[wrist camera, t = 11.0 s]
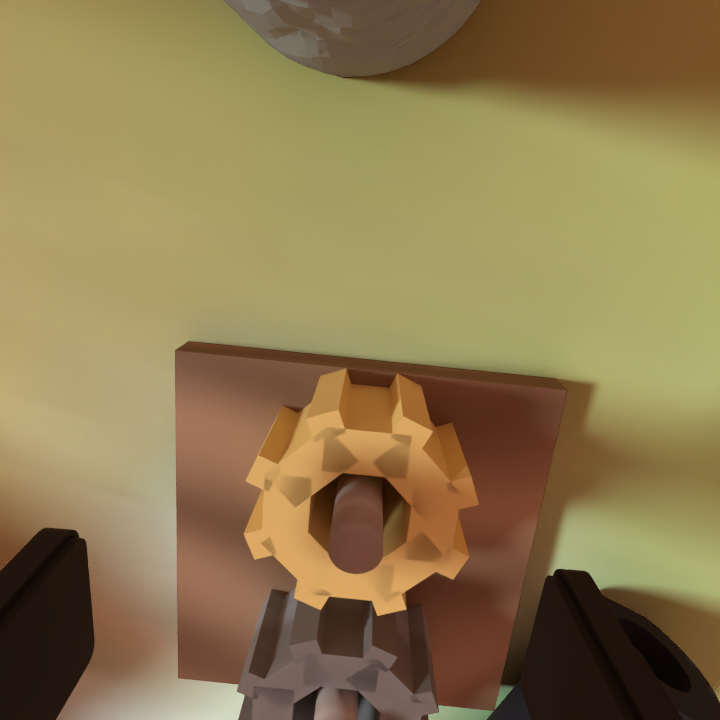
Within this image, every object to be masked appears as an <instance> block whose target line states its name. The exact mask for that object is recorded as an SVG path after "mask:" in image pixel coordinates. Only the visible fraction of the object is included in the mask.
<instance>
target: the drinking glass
mask: <svg viewBox="0 0 720 720" xmlns="http://www.w3.org/2000/svg"><path fill="white" fill-rule="evenodd" d="M224 1H225V2H226V3H227V4H228V5H229V6H230V7H231V8H232V9H234V10H235V11H236V12H237V13H238V14H239V15H240V16H241V18H242V19H243V20H244V21H245V22H246V23H247V24H248V25H249V26H250V27H251V28H253V29H254V30H255V31H256V32H257V33H258V34H259V35H260V36H261V37H262V38H263V39H264V40H265V41H266V42H267V43H268V44H269V45H270V46H272V47H273V48H275V49H276V50H277V51H279V52H280V53H282V54H283V55H285V56H286V57H287V58H289V59H291V60H293V61H295V62H297V63H299V64H302V65H304V66H306V67H309V68H312V69H315V70H318V71H321V72H324V73H329V74H334V75H339V76H340V77H341V78H344V77H353V76H372V75H377V74H382V73H387V72H391V71H393V70H396V69H399V68H402V67H404V66H407V65H410V64H412V63H414V62H416V61H418V60H420V59H421V58H423V57H425V56H427V55H428V54H430V53H432V52H433V51H434V50H436V49H437V48H438V47H440V46H441V45H442V44H443V43H445V42H446V41H447V40H448V39H449V38H451V37H452V36H453V35H454V34H455V33H456V32H457V31H458V30H459V29H460V28H461V27H462V26H463V25H464V23H465V22H466V21H467V20H468V18H469V17H470V16H471V15H472V13H473V12H474V10H475V9H476V8H477V6H478V5H479V3H480V2H481V0H224Z"/></svg>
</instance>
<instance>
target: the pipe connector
mask: <svg viewBox="0 0 720 720" xmlns="http://www.w3.org/2000/svg"><path fill="white" fill-rule="evenodd" d="M603 597H604V596H603ZM604 598H605V600H606V602H607V603H608V605H609V607H610V608H611V610H612V611H613V613H614V615H615V616H616V618H617V620H618V621H619V623H620V624H621V626H622V628H623V629H624V631H625V633H626V634H627V636H628V638H629V639H630V641H631V642H632V644H633V646H634V647H635V648H636V649H638V650H639V651H640V653H641V654H642V655H643V656H644V658H645V659H646V661H647V662H648V664H649V666H650V667H651V669H652V670H653V672H654V674H655V675H656V677H657V679H658V680H659V682H660V683H661V685H662V687H663V688H664V690H665V691H666V693H667V695H668V696H669V698H670V699H671V701H672V703H673V704H674V706H675V708H676V709H677V711H678V712H679V714H680V716H681V717H682V719H683V720H720V702H719V700H718V698H717V696H716V694H715V692H714V691H713V689H712V688H711V686H710V684H709V683H708V681H707V680H706V679H705V677H704V676H703V675H702V673H701V672H700V671H699V669H698V668H697V667H696V666H695V665H694V663H693V662H692V661H691V660H690V659H689V657H688V656H687V655H686V654H685V653H684V652H683V651H682V650H681V649H680V648H679V647H678V646H677V645H676V644H675V643H674V642H673V641H672V640H671V639H670V638H669V637H668V636H667V635H666V634H664V633H663V632H662V631H661V630H660V629H659V628H657V627H656V626H655V625H654V624H653V623H651V622H650V621H649V620H648V619H646V618H645V617H643V616H641V615H639V614H637V613H635V612H633V611H632V610H630V609H628V608H626V607H624V606H622V605H620V604H618V603H616V602H614V601H612V600H610V599H608V598H606V597H604ZM487 720H531V718H530V715H529V712H528V709H527V706H526V703H525V700H524V697H523V693H522V688H521V680H520V681H519V682H518V684H517V685H516V686H515V687H514V688H513V689H512V691H511V692H510V693H509V694H508V695H507V696H506V698H505V699H504V700H503V701H502V702H501V704H500V705H499V706H498V707H497V708H496V709H495V711H494V712H493V713H492V714H491V715H490V716H489V718H488V719H487Z"/></svg>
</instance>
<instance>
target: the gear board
mask: <svg viewBox="0 0 720 720" xmlns="http://www.w3.org/2000/svg"><path fill="white" fill-rule="evenodd" d="M342 369H347V372H348V375H349V378H350V381H351V384H357V385H367V386H377V387H387V388H389V387H390V386H391V384H392V382H393V380H394V379H395V377H396V375H397V374H400V375H402V376H403V377H405V378H407V379H409V380H411V381H413V382H415V383H417V384H419V385H421V386H422V390H423V394H424V398H425V402H426V406H427V410H428V414H429V418H430V421H431V422H432V423H433V424H434V425H435V427H438V426H441V425H445V424H449V423H452V424H453V427H454V429H455V432H456V435H457V438H458V441H459V443H460V446H461V449H462V452H463V455H464V457H465V460H466V463H467V466H468V469H469V471H470V474H471V477H472V481H473V484H474V488H475V492H476V495H477V499H478V503H479V505H476V506H472V507H468V508H464V509H460V510H459V512H458V516H459V520H460V523H461V527H462V531H463V535H464V538H465V542H466V546H467V550H468V553H469V558H468V560H467V561H466V562H465V564H464V565H463V567H462V568H461V569H460V571H459V572H458V574H457V575H456V576H455V578H454V579H453V580H452V579H450V578H448V577H446V576H444V575H442V574H440V573H438V572H435V573H433V574H432V575H430V576H429V577H427V578H426V579H424V580H422V581H421V582H419V583H418V584H416V585H415V586H413V587H412V588H410V589H409V590H407V591H405V594H406V608H407V609H406V610H402V611H398V612H393V613H389V614H384V615H380V616H377V614H376V611H375V608H374V605H373V602H372V601H368V600H358V599H349V598H339V597H329V598H328V599H327V601H326V603H325V604H324V606H323V607H322V609H321V610H319V609H317V608H315V607H312V606H310V605H308V604H306V603H304V602H301V601H299V600H297V599H295V598H294V594H295V589H296V584H297V579H296V578H295V577H294V576H293V575H292V574H291V573H290V572H289V571H288V570H287V569H286V568H285V567H284V566H283V565H282V564H281V563H280V562H279V561H278V560H277V559H276V558H275V557H274V556H273V555H272V556H268V557H264V558H260V559H256V560H254V557H253V555H252V553H251V550H250V548H249V546H248V543H247V541H246V539H245V536H244V532H245V529H246V527H247V524H248V522H249V519H250V517H251V515H252V512H253V510H254V507H255V505H256V503H257V500H258V498H259V495H260V493H261V490H262V489H261V488H258V487H256V486H254V485H252V484H250V483H248V482H246V478H247V476H248V474H249V472H250V470H251V468H252V466H253V464H254V462H255V460H256V458H257V456H258V454H259V452H260V450H261V448H262V446H263V444H264V442H265V440H266V438H267V435H268V433H269V431H270V429H271V427H272V425H273V423H274V422H275V420H276V418H277V416H278V414H279V412H280V410H281V408H282V406H284V407H286V408H288V409H290V410H292V411H294V412H296V413H299V412H300V411H301V410H302V409H304V408H305V407H306V406H308V405H309V404H310V403H311V402H312V399H313V396H314V393H315V390H316V387H317V385H318V382H319V379H320V376H321V375H325V374H328V373H332V372H335V371H339V370H342ZM566 394H567V390H566V389H565V388H564V387H563V386H562V385H561V384H560V383H559V382H558V381H557V380H556V379H553V378H543V377H533V376H523V375H514V374H504V373H494V372H484V371H474V370H464V369H454V368H445V367H435V366H425V365H415V364H405V363H395V362H385V361H376V360H366V359H356V358H346V357H336V356H326V355H316V354H306V353H297V352H287V351H277V350H267V349H257V348H247V347H237V346H228V345H218V344H208V343H198V342H187V343H185V344H184V345H182V346H181V347H179V348H178V349H176V350H175V403H176V502H177V601H178V678H182V679H192V680H201V681H211V682H221V683H230V684H239V685H238V689H237V692H239V693H242V694H244V695H245V697H244V701H243V705H242V708H241V712H240V716H239V720H428V714H433V713H438V712H439V710H438V705H442V706H452V707H462V708H471V709H481V710H490V711H494V709H495V705H496V701H497V696H498V692H499V687H500V683H501V679H502V674H503V670H504V666H505V661H506V657H507V652H508V648H509V644H510V639H511V635H512V631H513V626H514V622H515V617H516V613H517V609H518V604H519V600H520V596H521V591H522V587H523V582H524V578H525V574H526V569H527V565H528V561H529V556H530V552H531V547H532V543H533V539H534V534H535V530H536V525H537V521H538V517H539V512H540V508H541V504H542V499H543V495H544V490H545V486H546V482H547V477H548V473H549V469H550V464H551V460H552V455H553V451H554V447H555V442H556V438H557V434H558V429H559V425H560V420H561V416H562V412H563V407H564V403H565V399H566ZM332 481H333V483H334V484H335V485H336V486H337V490H336V497H335V504H334V511H333V518H332V525H331V532H330V539H329V546H328V554H329V557H330V559H331V561H332V563H333V564H334V565H335V566H336V567H337V568H339V569H340V570H342V571H344V572H347V573H351V574H362V573H366V572H369V571H371V570H373V569H374V568H375V567H377V566H378V564H379V563H380V562H381V560H382V557H383V551H384V549H383V499H382V490H384V489H385V488H387V487H388V486H389V485H391V483H390V482H389V481H388V480H387V479H386V477H378V476H368V475H358V474H348V473H342V474H341V475H339V476H338V477H336V478H335V479H334V480H332Z"/></svg>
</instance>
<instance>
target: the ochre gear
mask: <svg viewBox="0 0 720 720" xmlns="http://www.w3.org/2000/svg"><path fill="white" fill-rule="evenodd" d="M342 473H348V474H358V475H368V476H378V477H386V479H387V480H388V481H389V482H390V483H391V485H389V486H388V487H387V488H385V489H384V490H382V499H383V549H384V551H383V557H382V560H381V562H380V563H379V564H378V566H377V567H375V568H374V569H373V570H371V571H369V572H366V573H362V574H351V573H347V572H344V571H342V570H340V569H339V568H337V567H336V566H335V565H334V564H333V563H332V561H331V559H330V557H329V554H328V546H329V539H330V532H331V525H332V518H333V511H334V504H335V497H336V490H337V486H336V485H335V484H334V483H333V481H332V480H334V479H335V478H336V477H338V476H339V475H341V474H342ZM246 482H248V483H250V484H252V485H254V486H256V487H258V488H261V489H262V490H261V493H260V495H259V498H258V500H257V503H256V505H255V507H254V510H253V512H252V515H251V517H250V519H249V522H248V524H247V527H246V529H245V532H244V536H245V539H246V541H247V543H248V546H249V548H250V550H251V553H252V555H253V557H254V560H256V559H260V558H264V557H268V556H272V555H273V556H274V557H275V558H276V559H277V560H278V561H279V562H280V563H281V564H282V565H283V566H284V567H285V568H286V569H287V570H288V571H289V572H290V573H291V574H292V575H293V576H294V577H295V578H296V579H297V584H296V589H295V594H294V598H295V599H297V600H299V601H301V602H304V603H306V604H308V605H310V606H312V607H315V608H317V609H319V610H321V609H322V607H323V606H324V604H325V603H326V601H327V599H328V598H329V597H339V598H349V599H358V600H368V601H372V602H373V605H374V608H375V611H376V614H377V616H380V615H384V614H389V613H393V612H398V611H402V610H406V609H407V608H406V594H405V591H407V590H409V589H410V588H412V587H413V586H415V585H416V584H418V583H419V582H421V581H422V580H424V579H426V578H427V577H429V576H430V575H432V574H433V573H435V572H438V573H440V574H442V575H444V576H446V577H448V578H450V579H452V580H453V579H454V578H455V576H456V575H457V574H458V572H459V571H460V569H461V568H462V567H463V565H464V564H465V562H466V561H467V560H468V558H469V553H468V550H467V546H466V542H465V538H464V535H463V531H462V527H461V523H460V520H459V516H458V512H459V510H460V509H464V508H468V507H472V506H476V505H479V503H478V499H477V495H476V492H475V488H474V484H473V481H472V477H471V474H470V471H469V469H468V466H467V463H466V460H465V457H464V455H463V452H462V449H461V446H460V443H459V441H458V438H457V435H456V432H455V429H454V427H453V424H452V423H449V424H445V425H441V426H438V427H435V425H434V424H433V423H432V422H431V421H430V418H429V414H428V410H427V406H426V402H425V398H424V394H423V390H422V386H421V385H419V384H417V383H415V382H413V381H411V380H409V379H407V378H405V377H403V376H402V375H400V374H397V375H396V377H395V379H394V380H393V382H392V384H391V386H390V387H389V388H387V387H377V386H367V385H357V384H351V381H350V378H349V375H348V372H347V369H342V370H339V371H335V372H332V373H328V374H325V375H321V376H320V379H319V382H318V385H317V387H316V390H315V393H314V396H313V399H312V402H311V403H310V404H309V405H308V406H306V407H305V408H304V409H302V410H301V411H300V412H299V413H296V412H294V411H292V410H290V409H288V408H286V407H284V406H282V408H281V410H280V412H279V414H278V416H277V418H276V420H275V422H274V423H273V425H272V427H271V429H270V431H269V433H268V435H267V438H266V440H265V442H264V444H263V446H262V448H261V450H260V452H259V454H258V456H257V458H256V460H255V462H254V464H253V466H252V468H251V470H250V472H249V474H248V476H247V478H246Z"/></svg>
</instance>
